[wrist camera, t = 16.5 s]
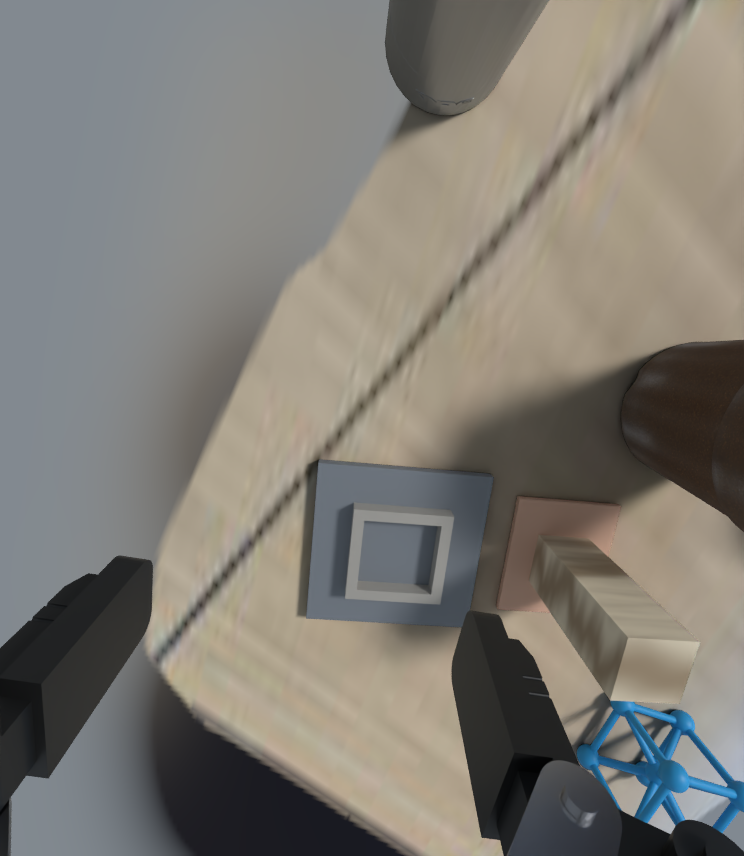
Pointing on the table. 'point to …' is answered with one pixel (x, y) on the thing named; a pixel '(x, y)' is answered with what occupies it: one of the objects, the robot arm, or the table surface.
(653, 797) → the molecular structure
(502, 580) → the terracotta pad
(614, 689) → the maple block
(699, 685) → the table surface
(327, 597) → the puzzle board
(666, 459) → the plant pot
